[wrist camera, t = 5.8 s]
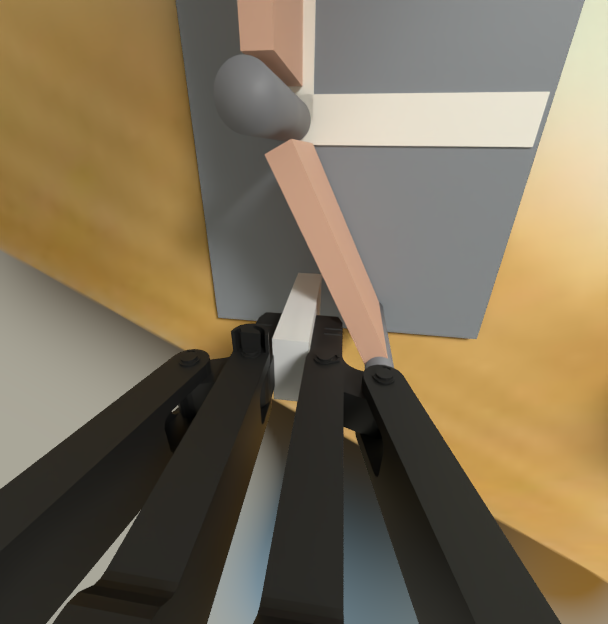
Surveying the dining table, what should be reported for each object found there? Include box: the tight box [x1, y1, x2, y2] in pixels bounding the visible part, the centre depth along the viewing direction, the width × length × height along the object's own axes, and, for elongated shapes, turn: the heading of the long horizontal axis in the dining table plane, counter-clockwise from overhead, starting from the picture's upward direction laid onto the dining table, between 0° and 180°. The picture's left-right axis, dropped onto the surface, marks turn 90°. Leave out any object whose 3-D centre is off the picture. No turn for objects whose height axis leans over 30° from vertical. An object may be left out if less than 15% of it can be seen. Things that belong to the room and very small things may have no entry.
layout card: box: [176, 0, 585, 339], centre depth 14 cm, size 22×16×1 cm
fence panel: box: [265, 139, 394, 369], centre depth 14 cm, size 10×1×6 cm, turn 26°
